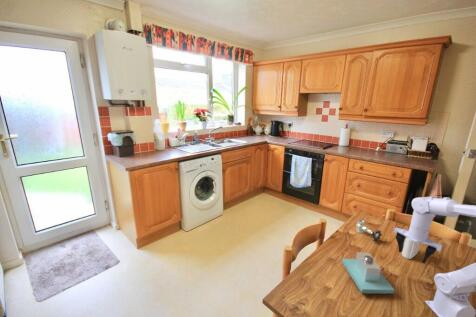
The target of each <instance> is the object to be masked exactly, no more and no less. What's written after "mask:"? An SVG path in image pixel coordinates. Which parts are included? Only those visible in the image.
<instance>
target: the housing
mask: <svg viewBox="0 0 476 317" xmlns="http://www.w3.org/2000/svg"><path fill="white" fill-rule="evenodd" d="M355 256H356V257H355V259H356V261H355V265H356V267H357V269H358V270H359V272H360V274H361V276H362V277H363V279H364V281H370V282H378V281H379V277H380V273H382V268H381V267H380V266H379V264H378V262H377V261H376V259H375V258H374V257H373V256H372V255H371V253H370V252H359V251H357V252H356V255H355Z"/></svg>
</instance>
